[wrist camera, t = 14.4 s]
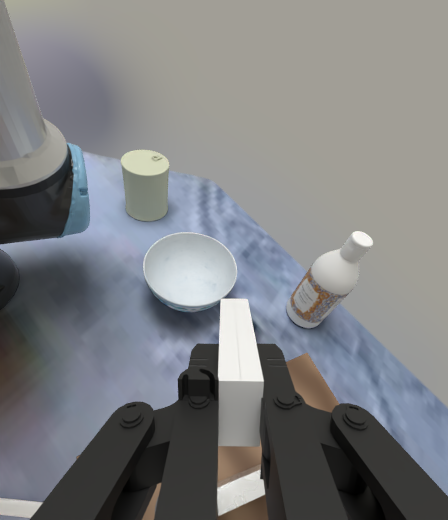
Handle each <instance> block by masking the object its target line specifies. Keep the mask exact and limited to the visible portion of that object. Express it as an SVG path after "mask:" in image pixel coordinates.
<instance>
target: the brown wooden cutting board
mask: <svg viewBox="0 0 448 520" xmlns="http://www.w3.org/2000/svg"><path fill="white" fill-rule="evenodd" d="M286 364H287V367H288V370H289V373H290V376H291V379H292V382H293V385H294V388H295V391H296V392H297V393H299V394H300V395H301V396H302V397H303V399H304V401H305V402H306V404H308V405H310V406H312V407H314V408H317V409H320V410H324V411H327V412H331V413H332V410H333V409H334V407H335V406H337V405H339V403H338V401H337V400H336V398H335V396H334V395H333V393H332V392H331V390H330V388H329V387H328V385H327V384H326V382H325V380H324V379H323V377H322V376H321V374H320V372H319V371H318V369H317V368H316V366H315V364H314V363H313V361H312V360H311V358H310V356H309V355H308V353H306V354H303V355H301V356H299V357H297V358H294V359H292V360H290V361H288V362H286ZM79 456H80V455H79ZM79 456H77V459H78V457H79ZM261 457H262V447H261V439H260V447H253V446H218V482H219V481H221V480H224V479H226V478H228V477H231V476H233V475H236V474H238V473H240V472H243V471H245V470H248V469H250V468H252V467H255V466H257V465H259V464H261ZM160 487H161V483H159V484H157V487H156V489H155V492H154V494H153V496H152V498H151V501H150V503H149V505H148V507H147V509H146V512H145V514H144V516H143V518H142V520H154V516H155V511H156V507H157V502H158V497H159V492H160ZM218 520H268V512H267V504H266V496H265V495H263V496H261V497H259V498H256V499H254V500H252V501H250V502H248V503H246V504H243V505H241V506H239V507H237V508H235V509H233V510H231V511H228V512H226V513H224V514H222V515H220V516H218Z"/></svg>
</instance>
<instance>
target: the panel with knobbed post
mask: <svg viewBox="0 0 448 520" xmlns="http://www.w3.org/2000/svg"><path fill="white" fill-rule="evenodd" d="M260 472H261V464H259V465H257V466H255V467H252V468H250V469H248V470H245V471H243V472H240V473H238V474H236V475H233V476H231V477H228V478H226V479H224V480H221V481H219V482H218V486H217V520H218V516H220V515H222V514H224V513H226V512H228V511H231V510H233V509H235V508H237V507H239V506H241V505H243V504H246V503H248V502H250V501H252V500H254V499H256V498H259V497H261V496H263V495H265V488H264V481H263V479H260Z"/></svg>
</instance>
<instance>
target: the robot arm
mask: <svg viewBox="0 0 448 520" xmlns="http://www.w3.org/2000/svg"><path fill="white" fill-rule="evenodd" d="M87 191H88V187H87V176H86V169H85V163H84V158H83V153H82V150H81V149H80V147H79V146H77V145H72V144H70V143H66V140H65V138H64V136H63V135H62V133H61V132H60V130H59V129H58V128H57V127H55V126H54V125H53V124H52V123H50V122H48V121H47V120H45V119H43V117H42V114H41V111H40V108H39V105H38V102H37V99H36V96H35V93H34V90H33V87H32V84H31V81H30V78H29V75H28V72H27V69H26V66H25V63H24V60H23V57H22V54H21V51H20V47H19V44H18V41H17V38H16V35H15V32H14V29H13V27H12V23H11V20H10V17H9V14H8V12H7V8H6V5H5V2H4V0H0V244H7V243H15V242H24V241H32V240H40V239H49V238H62V237H64V236H65V235H71V234H76V233H81V232H83V231H85V230H86V229H87V228H88V226H89V223H90V205H89V195H88V192H87ZM18 284H19V272H18V269H17V267H16V265H15V264H14V262H13V261H12V259H11V258H10V256H9V255H8V254H7V253H5V252H4V251H3V250H1V249H0V309H2V308H3V307H4V306H5V305H6V304H7V303H8V302H9V300H10V299H11V298H12V296H13V295H14V293H15V292H16V289H17V287H18ZM178 397H179V400H178V401H177V402H175V403H174V404H172V405H170V406H168V407H165V408H162V409H158V410H154V411H153V409H152V407H151V406H150V405H149V404H146V403H144V402H132V403H128V404H125V405H124V406H122V407H120V408H118V409H117V410H116V411H115V412H114V413H113V414H112V415H111V417H110V418H109V419H108V421H107V422H106V423H105V424H104V426H103V427H102V428H101V429H100V431H99V432H98V433H97V435H96V436H95V437H94V438H93V440H92V441H91V442H90V443H89V445H88V446H87V447H86V449H85V450H84V451H83V452H82V454H81V455H80V456H79V457H78V459H77V460H76V461H75V463H74V464H73V465H72V466H71V468H70V469H69V470H68V471H67V473H66V474H65V475H64V477H63V478H62V479H61V480H60V482H59V483H58V484H57V485H56V487H55V488H54V489H53V491H52V492H51V493H50V494H49V496H48V497H47V498H46V499H45V501H44V502H43V503H42V505H41V506H40V507H39V508H38V510H37V511H36V512H35V514H34V515H33V516H32V517H31V519H30V520H142V518H143V516H144V514H145V512H146V509H147V507H148V505H149V503H150V501H151V498H152V496H153V494H154V492H155V489H156V487H157V484H159V483H161V487H160V492H159V497H158V502H157V507H156V511H155V516H154V520H217V486H218V446H253V447H260V439H261V447H262V457H261V472H260V479H263V481H264V488H265V496H266V504H267V512H268V520H448V496H447V495H446V494H445V493H444V492H443V491H442V490H441V489H440V488H439V486H438V485H437V484H436V483H435V482H434V481H433V480H432V479H431V478H430V477H429V476H428V475H427V474H426V472H425V471H424V470H423V469H422V468H421V467H420V466H419V465H418V464H417V463H416V462H415V461H414V459H413V458H412V457H411V456H410V455H409V454H408V453H407V452H406V451H405V450H404V449H403V448H402V447H401V445H400V444H399V443H398V442H397V441H396V440H395V439H394V438H393V437H392V436H391V435H390V434H389V433H388V431H387V430H386V429H385V428H384V427H383V426H382V425H381V424H380V423H379V422H378V421H377V420H376V419H375V417H374V416H373V415H371V414H370V413H369V412H368V411H367V410H365V409H363V408H361V407H359V406H357V405H353V404H349V403H347V404H339V405H337V406H335V407H334V409H333V410H332V413H331V412H327V411H324V410H320V409H317V408H314V407H312V406H310V405H308V404H306V402H305V401H304V399H303V397H302V396H301V395H300V394H299V393H297V392H296V391H295V388H294V385H293V382H292V379H291V376H290V373H289V370H288V367H287V364H286V361H285V358H284V355H283V353H282V350H281V349H280V348H279V347H278V346H277V345H276V344H256V339H255V334H254V329H253V324H252V319H251V314H250V309H249V304H248V299H221V303H220V332H219V344H197V345H196V346H195V347H194V348H193V349H192V351H191V357H190V362H189V367H188V369H187V370H185V371H184V372H182V373H181V374H180V376H179V378H178Z"/></svg>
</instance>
